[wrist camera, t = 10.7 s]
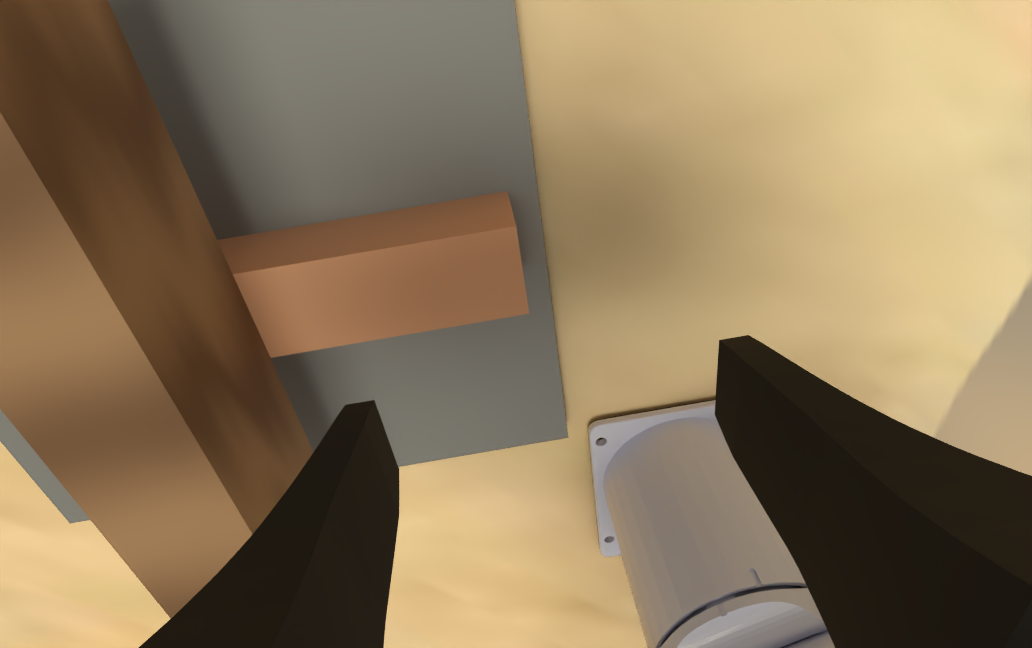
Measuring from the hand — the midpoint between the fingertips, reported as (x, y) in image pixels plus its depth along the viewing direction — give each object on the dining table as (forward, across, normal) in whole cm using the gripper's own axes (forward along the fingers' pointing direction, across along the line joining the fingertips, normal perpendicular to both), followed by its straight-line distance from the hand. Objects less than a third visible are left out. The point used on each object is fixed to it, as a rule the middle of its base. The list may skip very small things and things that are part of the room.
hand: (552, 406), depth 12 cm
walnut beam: (+6, +10, 0) cm, 12 cm away
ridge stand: (+10, +10, 0) cm, 14 cm away
